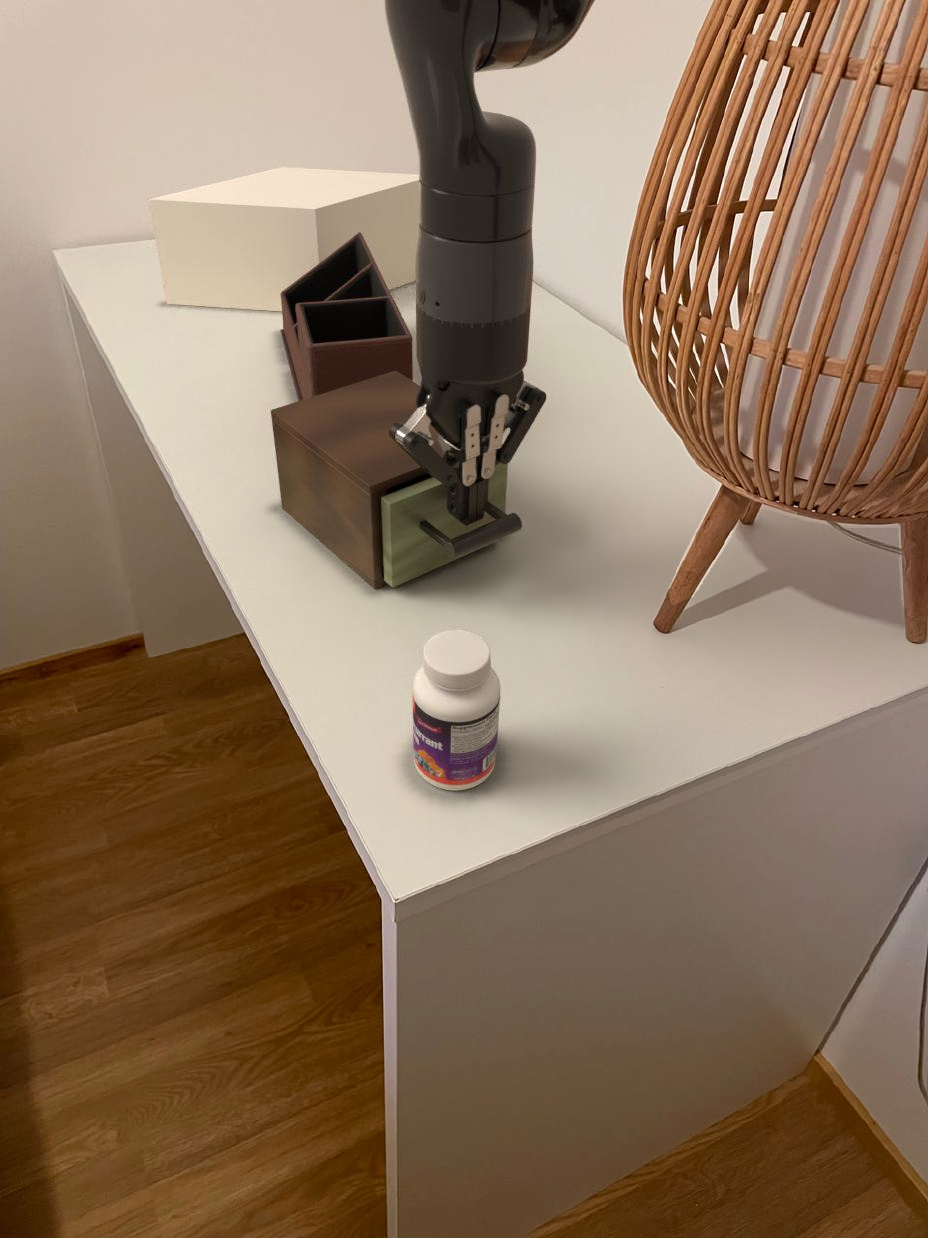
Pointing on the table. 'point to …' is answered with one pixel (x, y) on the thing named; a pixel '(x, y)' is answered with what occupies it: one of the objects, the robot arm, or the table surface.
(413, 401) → the cabinet
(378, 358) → the desk organizer
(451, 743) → the pill bottle
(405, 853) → the table surface
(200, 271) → the block
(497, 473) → the drawer
